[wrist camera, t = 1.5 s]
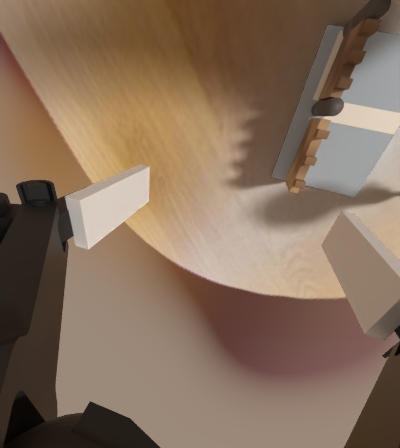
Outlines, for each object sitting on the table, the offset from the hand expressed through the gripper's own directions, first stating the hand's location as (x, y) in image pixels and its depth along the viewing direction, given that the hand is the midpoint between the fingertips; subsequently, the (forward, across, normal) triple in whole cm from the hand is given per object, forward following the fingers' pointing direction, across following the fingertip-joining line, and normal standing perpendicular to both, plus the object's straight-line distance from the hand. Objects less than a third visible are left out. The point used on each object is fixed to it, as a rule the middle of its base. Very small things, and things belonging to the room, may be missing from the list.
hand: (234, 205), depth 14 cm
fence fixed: (+19, +7, +11) cm, 23 cm away
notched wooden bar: (+18, +7, +2) cm, 19 cm away
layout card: (+19, +11, +6) cm, 22 cm away
